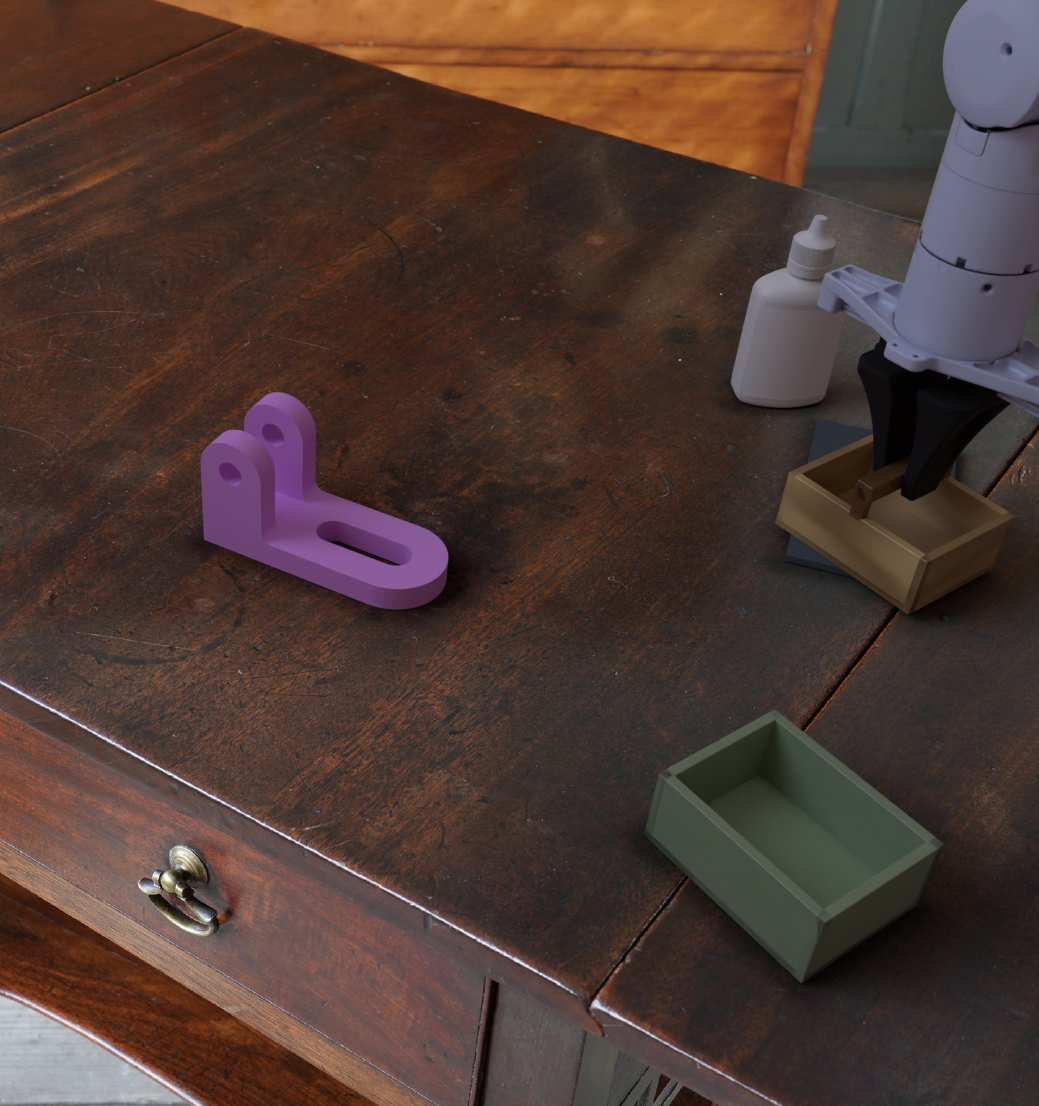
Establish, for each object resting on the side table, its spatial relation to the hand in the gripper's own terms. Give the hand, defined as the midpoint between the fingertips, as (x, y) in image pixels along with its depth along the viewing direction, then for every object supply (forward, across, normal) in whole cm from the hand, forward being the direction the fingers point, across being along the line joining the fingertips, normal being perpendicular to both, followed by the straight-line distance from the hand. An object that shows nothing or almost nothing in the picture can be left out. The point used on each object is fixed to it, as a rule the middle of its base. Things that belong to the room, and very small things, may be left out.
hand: (904, 483), depth 76 cm
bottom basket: (+5, +12, -21) cm, 25 cm away
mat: (+5, -3, +3) cm, 6 cm away
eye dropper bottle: (+5, -14, +7) cm, 16 cm away
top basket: (+4, 0, 0) cm, 4 cm away
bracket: (+5, -16, -25) cm, 30 cm away
